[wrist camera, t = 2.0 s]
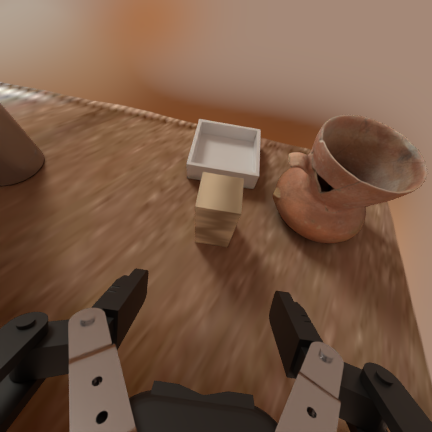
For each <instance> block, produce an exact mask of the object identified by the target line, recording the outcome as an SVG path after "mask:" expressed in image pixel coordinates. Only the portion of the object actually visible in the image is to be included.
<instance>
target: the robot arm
mask: <svg viewBox="0 0 432 432" xmlns="http://www.w3.org/2000/svg"><path fill="white" fill-rule="evenodd" d="M43 162H44V155H43V153H42V152H41V150H40V149H39V148H38V147H37V146H36V145H35V143H34V142H33V141H32V140H31V139H30V137H29V136H28V135H27V134H26V133H25V131H24V130H23V129H22V128H21V127H20V125H19V124H18V123H17V122H16V121H15V120H14V118H13V117H12V116H11V115H10V114H9V113H8V111H7V110H6V109H5V108H4V107H3V106H2V104H1V103H0V186H5V185H11V184H15V183H19V182H21V181H24V180H26V179H28V178H29V177H31V176H32V175H34V174H35V173H36V172H37V171H38V170H39V169H40V168H41V166H42V165H43ZM147 284H148V270H143V269H134V271H133V272H132V273H131V274H130V275H129V276H126V275H124V276H122V277H121V278H119V279H117V280H116V281H115V282H114V283H113V284H112V286H110V288H109V289H108V290H107V291H106V292H105V293H104V294H103V295H102V296H101V298H100V299H99V300H98V301H97V302H96V303H95V304H94V305H93V306H92V307H91V308H87V309H84V310H81V311H79V312H77V313H76V314H74V315H73V316H72V317H71V318H70V319H69V320H61V321H51V322H48V316H47V315H46V314H45V313H43V312H31V313H27V314H23V315H21V316H18V317H16V318H14V319H12V320H11V321H9V322H8V323H7V324H6V325H4V326H3V327H2V328H1V329H0V432H6V431H7V429H8V428H9V427H10V425H11V424H12V423H13V421H14V420H15V419H16V417H17V416H18V415H19V413H20V412H21V411H22V409H23V408H24V407H25V406H26V404H27V403H28V402H29V400H30V399H31V398H32V396H33V395H34V394H35V392H36V391H37V390H38V388H39V387H40V386H41V384H42V383H43V382H44V380H45V379H46V378H47V377H53V376H58V375H64V374H69V417H70V432H337V425H338V418H341V419H343V420H345V421H346V423H347V425H348V427H349V430H350V432H388V431H387V430H386V428H387V426H388V428H389V430H390V431H391V432H432V422H431V421H430V420H429V418H428V417H427V416H426V415H425V413H424V412H423V411H422V409H421V408H420V407H419V406H418V404H417V403H416V402H415V400H414V399H413V398H412V397H411V395H410V394H409V393H408V391H407V390H406V389H405V388H404V386H403V385H402V384H401V382H400V381H399V380H398V379H397V378H396V377H395V376H394V375H393V374H392V373H391V372H389V371H388V370H387V369H385V368H383V367H382V366H380V365H377V364H374V363H366V364H365V365H364V367H363V369H359V368H357V367H355V366H352V365H350V364H347V363H345V362H343V360H342V358H341V356H340V355H339V354H338V352H337V351H336V350H334V349H333V348H332V347H330V346H329V345H327V344H325V343H323V341H322V339H321V338H320V336H319V334H318V332H317V331H316V329H315V327H314V325H313V324H312V323H311V320H310V319H309V317H308V315H307V313H306V312H305V310H304V308H302V307H301V306H300V305H299V304H298V303H297V302H294V301H293V299H292V297H291V295H290V293H288V292H282V291H276V292H275V294H274V298H273V301H272V305H271V309H270V313H269V320H270V325H271V328H272V331H273V334H274V337H275V341H276V344H277V347H278V350H279V354H280V357H281V360H282V363H283V366H284V370H285V373H286V376H287V377H288V378H295V379H296V381H295V383H294V386H293V388H292V391H291V393H290V396H289V398H288V400H287V403H286V405H285V408H284V410H283V413H282V415H281V418H280V420H279V423H278V424H277V422H276V421H275V420H274V419H273V418H272V417H271V416H270V415H268V414H267V413H266V412H264V411H263V410H262V409H260V408H258V407H256V406H254V400H253V395H249V394H242V393H236V392H222V393H216V394H210V395H201V394H199V393H197V392H195V391H192V390H190V389H188V388H186V387H184V386H182V385H179V384H174V383H167V382H161V381H154V384H153V387H152V390H150V391H145V392H141V393H139V394H136V395H134V396H132V397H131V398H128V394H127V390H126V386H125V382H124V378H123V373H122V369H121V365H120V361H119V357H118V353H117V350H118V348H119V346H120V344H121V342H122V341H123V339H124V337H125V335H126V334H127V332H128V330H129V328H130V326H131V325H132V323H133V321H134V319H135V317H136V316H137V314H138V312H139V310H140V308H141V307H142V305H143V303H144V301H145V298H146V294H147Z"/></svg>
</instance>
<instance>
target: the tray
mask: <svg viewBox="0 0 432 432" xmlns="http://www.w3.org/2000/svg"><path fill="white" fill-rule="evenodd" d="M259 166H260V129H254V128H248V127H242V126H237V125H231V124H224V123H219V122H214V121H208V120H202V119H199V122H198V125H197V129H196V132H195V136H194V140H193V143H192V147H191V150H190V154H189V157H188V161H187V178H190V179H196V180H201V178H202V173H203V172H207V173H213V174H219V175H225V176H231V177H237V178H243V179H244V185H243V187H244V188H250V189H254V187H255V185H256V183H257V180H258V178H259Z"/></svg>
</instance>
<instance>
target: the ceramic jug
mask: <svg viewBox="0 0 432 432" xmlns="http://www.w3.org/2000/svg"><path fill="white" fill-rule="evenodd" d="M288 161H289V164H290V166H291V168H290V169H289V170H287V171H286V172H285V173H284V174H283V175H282V176H281V177H280V179H279V180H278V183H277V185H276V189H275V191H274V194H273V199H274V202H275V204H276V207H277V210H278V212H279V214H280V216H281V217H282V219H283V220H284V221H285V222H286V224H287V225H288V226H289V227H290V228H292V229H293V230H294V231H295V232H297V233H298V234H300V235H301V236H303V237H305V238H307V239H310V240H312V241H316V242H320V243H339V242H343V241H346V240H348V239H350V238H352V237H354V236H355V235H356V234H357V233H358V232H359V231H360V229H361V228H362V226H363V224H364V221H365V216H366V208H365V207H367V206H370V205H374V204H378V203H383V202H387V201H390V200H393V199H396V198H399V197H401V196H404V195H406V194H408V193H411V192H413V191H415V190H416V189H418V188H419V187H420V186H422V184H423V183H424V182H425V179H426V177H427V168H426V166H425V160H424V158H423V156H422V155H421V153H420V151H419V150H418V149H417V148H416V147H414V146H413V145H412V144H411V142H410V141H409V140H408V139H407V138H406V137H405V136H403V135H402V134H400V133H399V132H397V131H395V130H394V129H393V128H391V127H389V126H387V125H384V124H383V123H379V122H377V121H376V120H373V119H370V118H365V117H362V116H357V115H341V116H336V117H333V118H331V119H329V120H327V121H326V122H325V123H324V125H323V126H322V128H321V129H320V131H319V133H318V135H317V137H316V139H315V142H314V145H313V148H312V150H311V152H310V154H308V155H306V154H303V153H299V152H294V153H290V154H289V160H288Z"/></svg>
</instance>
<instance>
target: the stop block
mask: <svg viewBox="0 0 432 432" xmlns="http://www.w3.org/2000/svg"><path fill="white" fill-rule="evenodd" d="M243 185H244V179H243V178H237V177H231V176H225V175H219V174H213V173H207V172H203V173H202V178H201V183H200V187H199V192H198V196H197V201H196V205H195V242H198V243H204V244H210V245H216V246H223V247H228V245H229V242H230V240H231V238H232V235H233V233H234V230H235V228H236V225H237V223H238V221H239V218H240V216H241V210H242V198H243Z"/></svg>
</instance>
